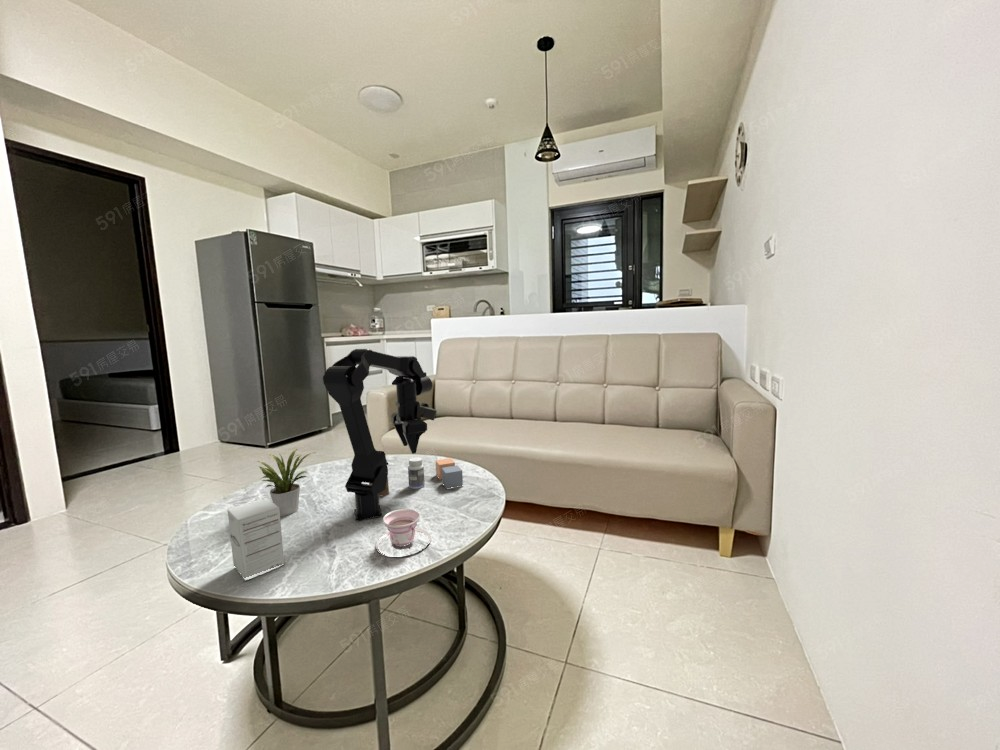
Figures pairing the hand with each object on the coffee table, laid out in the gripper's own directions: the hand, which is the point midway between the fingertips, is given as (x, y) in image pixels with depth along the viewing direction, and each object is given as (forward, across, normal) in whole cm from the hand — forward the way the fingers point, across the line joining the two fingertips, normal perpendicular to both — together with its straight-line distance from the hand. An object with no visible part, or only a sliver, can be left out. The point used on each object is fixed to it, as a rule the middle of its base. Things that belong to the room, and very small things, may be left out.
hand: (409, 449), depth 119 cm
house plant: (+12, +1, +32) cm, 34 cm away
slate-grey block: (+11, -6, -11) cm, 17 cm away
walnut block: (+11, 0, +10) cm, 15 cm away
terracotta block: (+11, +2, -12) cm, 16 cm away
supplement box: (+12, -26, +38) cm, 48 cm away
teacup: (+12, -32, +10) cm, 35 cm away
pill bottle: (+11, -1, -1) cm, 12 cm away
